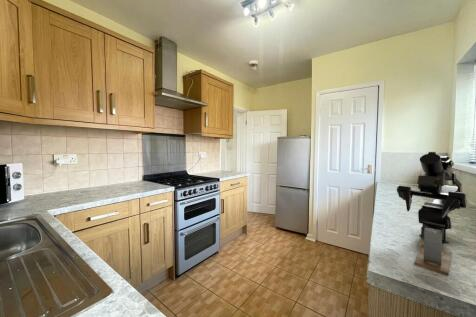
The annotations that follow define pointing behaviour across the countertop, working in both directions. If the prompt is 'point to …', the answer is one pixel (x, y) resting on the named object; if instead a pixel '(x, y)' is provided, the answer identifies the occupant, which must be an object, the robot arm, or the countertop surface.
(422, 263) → the mounting board
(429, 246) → the block
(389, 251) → the countertop surface
